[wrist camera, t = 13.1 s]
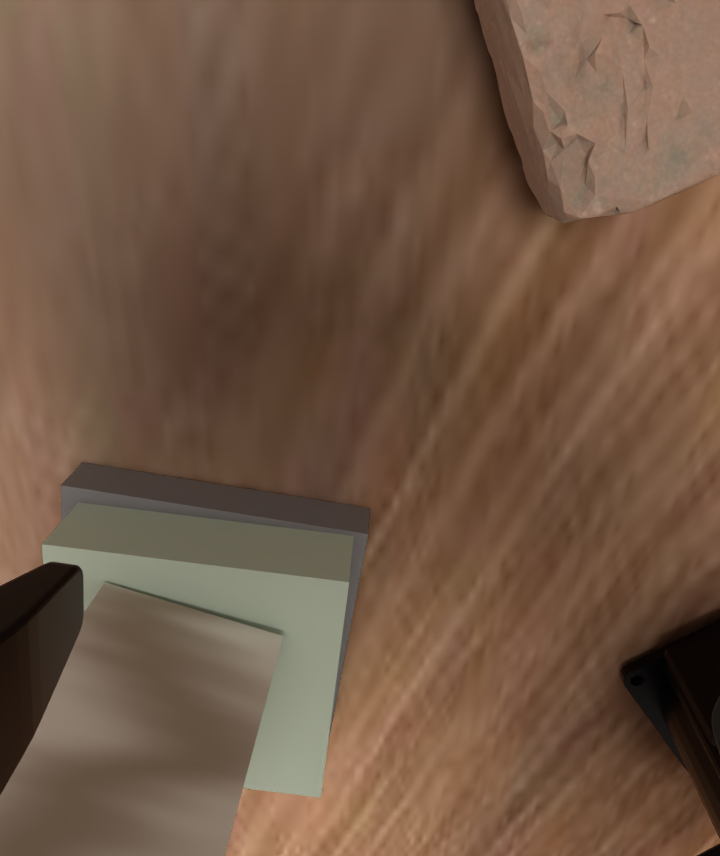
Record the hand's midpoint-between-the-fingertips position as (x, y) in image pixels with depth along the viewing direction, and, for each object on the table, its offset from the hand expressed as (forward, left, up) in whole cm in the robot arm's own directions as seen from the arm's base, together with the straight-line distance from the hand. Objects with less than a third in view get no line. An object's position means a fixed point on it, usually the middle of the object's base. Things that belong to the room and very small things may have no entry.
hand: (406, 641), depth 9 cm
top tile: (-4, +11, -11) cm, 16 cm away
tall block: (-3, +11, -9) cm, 14 cm away
